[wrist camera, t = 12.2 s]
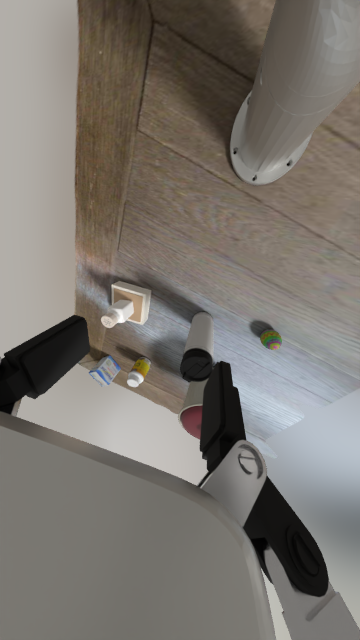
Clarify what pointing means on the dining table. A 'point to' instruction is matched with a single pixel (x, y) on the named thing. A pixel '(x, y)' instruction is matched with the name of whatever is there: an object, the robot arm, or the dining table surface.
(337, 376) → the dining table surface
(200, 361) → the travel mug
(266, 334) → the egg
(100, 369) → the medicine box
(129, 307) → the salt shaker
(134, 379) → the supplement bottle
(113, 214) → the dining table surface
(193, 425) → the canister
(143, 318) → the pedestal
